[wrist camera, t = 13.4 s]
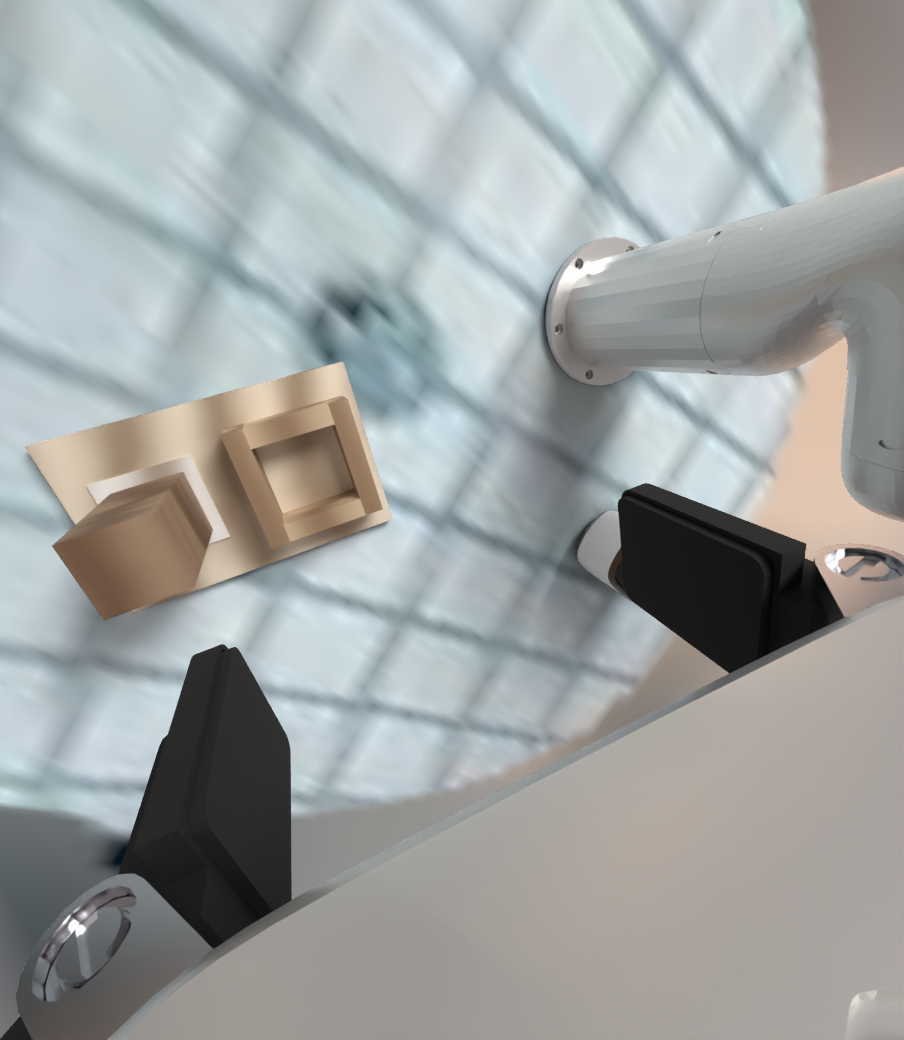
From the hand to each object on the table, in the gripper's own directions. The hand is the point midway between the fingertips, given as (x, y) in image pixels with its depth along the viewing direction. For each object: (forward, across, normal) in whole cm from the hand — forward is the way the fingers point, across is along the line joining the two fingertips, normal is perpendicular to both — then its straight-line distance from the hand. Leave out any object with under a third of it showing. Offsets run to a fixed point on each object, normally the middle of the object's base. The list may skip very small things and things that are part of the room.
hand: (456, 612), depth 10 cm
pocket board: (+30, +9, +3) cm, 32 cm away
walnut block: (+29, +14, +3) cm, 32 cm away
